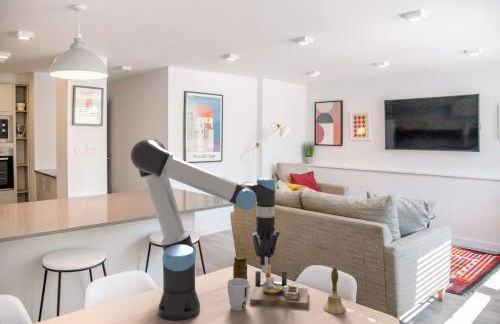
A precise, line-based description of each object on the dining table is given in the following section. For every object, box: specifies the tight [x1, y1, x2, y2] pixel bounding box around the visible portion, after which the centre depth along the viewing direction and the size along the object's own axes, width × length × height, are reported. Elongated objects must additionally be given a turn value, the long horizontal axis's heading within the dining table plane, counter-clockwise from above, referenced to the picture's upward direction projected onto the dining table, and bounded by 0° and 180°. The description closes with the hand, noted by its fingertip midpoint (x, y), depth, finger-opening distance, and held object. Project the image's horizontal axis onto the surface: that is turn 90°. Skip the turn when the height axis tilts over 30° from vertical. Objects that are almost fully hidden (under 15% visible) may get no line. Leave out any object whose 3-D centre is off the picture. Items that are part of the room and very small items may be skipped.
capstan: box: [254, 262, 288, 295], centre depth 156 cm, size 13×12×10 cm
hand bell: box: [322, 266, 346, 315], centre depth 147 cm, size 8×8×16 cm
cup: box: [227, 278, 250, 312], centre depth 147 cm, size 8×8×10 cm
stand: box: [249, 284, 309, 309], centre depth 156 cm, size 22×14×4 cm, turn 82°
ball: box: [282, 286, 290, 294], centre depth 156 cm, size 3×3×3 cm
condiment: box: [232, 255, 251, 289], centre depth 169 cm, size 7×8×12 cm
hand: (264, 272), depth 162 cm, fingers closed
